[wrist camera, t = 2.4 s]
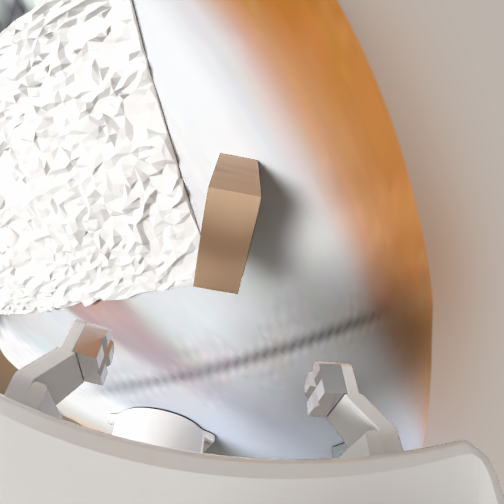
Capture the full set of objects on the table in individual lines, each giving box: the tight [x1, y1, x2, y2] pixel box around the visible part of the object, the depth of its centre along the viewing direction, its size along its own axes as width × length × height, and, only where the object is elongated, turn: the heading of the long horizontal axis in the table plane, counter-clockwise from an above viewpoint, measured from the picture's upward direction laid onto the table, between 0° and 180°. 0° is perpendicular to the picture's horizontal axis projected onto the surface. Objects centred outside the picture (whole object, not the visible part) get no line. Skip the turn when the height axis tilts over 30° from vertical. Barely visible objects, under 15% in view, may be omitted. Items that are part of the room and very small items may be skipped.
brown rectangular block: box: [193, 153, 261, 294], centre depth 23 cm, size 7×3×8 cm, turn 168°
